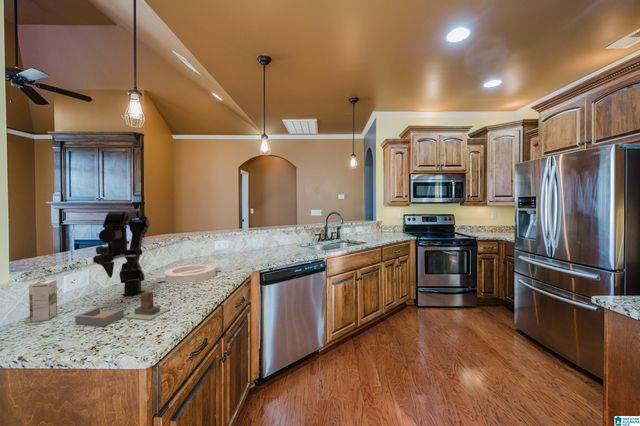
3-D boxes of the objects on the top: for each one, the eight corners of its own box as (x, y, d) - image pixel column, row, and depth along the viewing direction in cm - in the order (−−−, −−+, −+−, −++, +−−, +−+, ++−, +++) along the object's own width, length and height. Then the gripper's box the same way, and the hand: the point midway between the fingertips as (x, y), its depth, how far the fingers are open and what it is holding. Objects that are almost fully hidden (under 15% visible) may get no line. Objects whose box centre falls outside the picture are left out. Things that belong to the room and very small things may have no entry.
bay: (97, 314, 107) (97, 307, 106) (123, 317, 104) (123, 309, 104) (75, 324, 98) (75, 316, 98) (103, 326, 96) (103, 318, 96)
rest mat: (144, 308, 113) (144, 307, 113) (169, 309, 111) (169, 308, 111) (123, 318, 103) (123, 316, 103) (150, 320, 101) (150, 319, 101)
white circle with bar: (222, 271, 175) (222, 264, 175) (203, 284, 147) (202, 275, 147) (180, 271, 176) (180, 264, 176) (153, 284, 148) (152, 275, 148)
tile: (105, 316, 106) (105, 311, 106) (118, 317, 105) (118, 312, 105) (90, 323, 100) (90, 317, 100) (104, 324, 99) (103, 318, 99)
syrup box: (39, 316, 106) (37, 280, 105) (58, 314, 108) (56, 278, 107) (29, 322, 100) (27, 284, 100) (50, 320, 102) (48, 282, 102)
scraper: (143, 309, 110) (142, 290, 109) (160, 311, 108) (159, 291, 108) (134, 313, 106) (134, 294, 106) (152, 315, 104) (151, 295, 104)
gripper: (122, 236, 128) (124, 268, 129) (81, 242, 110) (83, 279, 110) (142, 236, 126) (143, 269, 127) (103, 242, 108) (105, 281, 108)
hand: (120, 274), depth 118 cm, fingers open, 9 cm apart
